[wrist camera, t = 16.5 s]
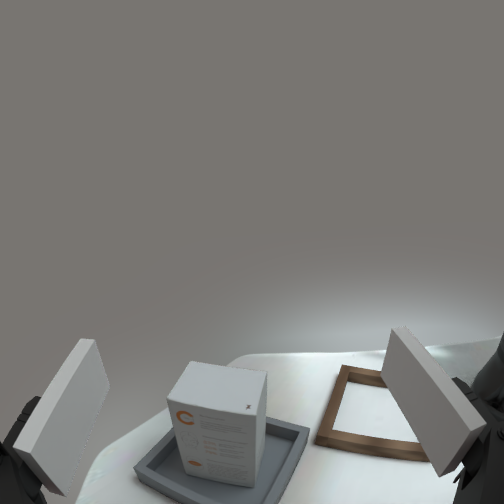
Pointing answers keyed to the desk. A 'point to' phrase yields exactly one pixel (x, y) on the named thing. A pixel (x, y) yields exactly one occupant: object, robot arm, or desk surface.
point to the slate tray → (223, 494)
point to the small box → (220, 422)
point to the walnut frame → (362, 442)
